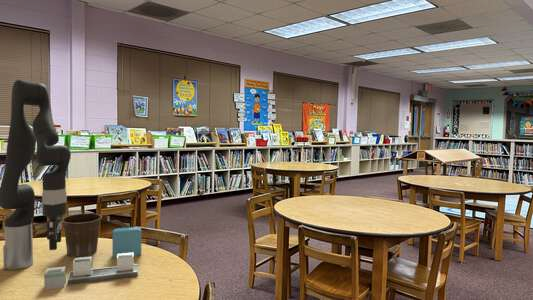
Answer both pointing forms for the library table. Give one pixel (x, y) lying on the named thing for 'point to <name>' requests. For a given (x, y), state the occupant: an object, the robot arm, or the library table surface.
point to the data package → (126, 241)
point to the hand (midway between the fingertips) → (55, 245)
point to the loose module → (54, 277)
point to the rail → (102, 269)
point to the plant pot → (81, 234)
